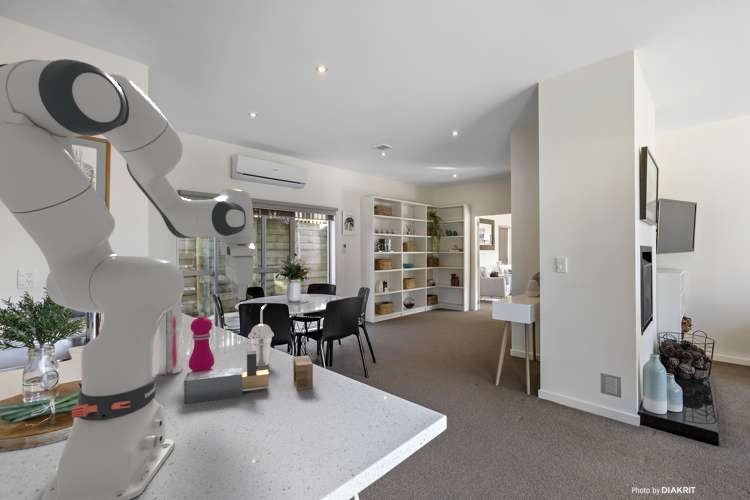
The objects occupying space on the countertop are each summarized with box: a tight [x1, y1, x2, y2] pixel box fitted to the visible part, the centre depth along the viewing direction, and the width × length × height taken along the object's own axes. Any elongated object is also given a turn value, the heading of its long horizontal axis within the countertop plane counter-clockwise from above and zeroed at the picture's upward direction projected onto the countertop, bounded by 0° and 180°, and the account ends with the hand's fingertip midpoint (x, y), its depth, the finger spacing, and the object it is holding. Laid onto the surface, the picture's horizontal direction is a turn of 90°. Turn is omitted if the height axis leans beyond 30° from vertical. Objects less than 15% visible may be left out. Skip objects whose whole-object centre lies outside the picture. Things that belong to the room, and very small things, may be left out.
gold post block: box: [242, 350, 270, 391], centre depth 97 cm, size 4×20×10 cm, turn 110°
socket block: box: [292, 355, 314, 391], centre depth 104 cm, size 8×4×7 cm, turn 20°
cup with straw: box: [247, 303, 275, 367], centre depth 121 cm, size 8×9×20 cm
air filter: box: [157, 298, 183, 376], centre depth 113 cm, size 6×6×25 cm
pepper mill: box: [188, 312, 215, 372], centre depth 109 cm, size 7×7×20 cm
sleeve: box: [183, 366, 243, 405], centre depth 96 cm, size 6×14×6 cm, turn 110°
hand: (238, 296), depth 100 cm, fingers open, 8 cm apart
